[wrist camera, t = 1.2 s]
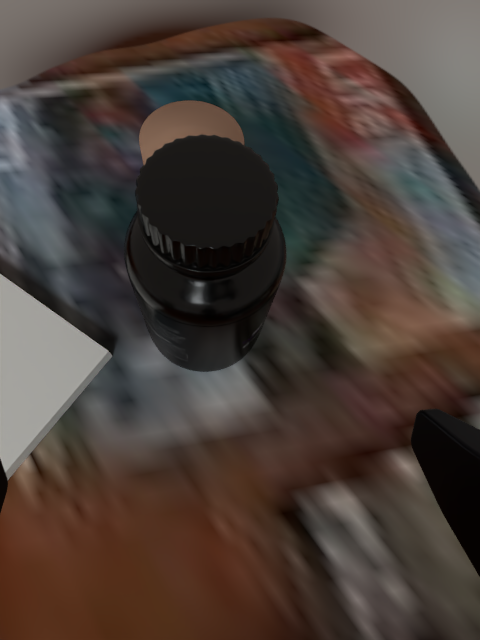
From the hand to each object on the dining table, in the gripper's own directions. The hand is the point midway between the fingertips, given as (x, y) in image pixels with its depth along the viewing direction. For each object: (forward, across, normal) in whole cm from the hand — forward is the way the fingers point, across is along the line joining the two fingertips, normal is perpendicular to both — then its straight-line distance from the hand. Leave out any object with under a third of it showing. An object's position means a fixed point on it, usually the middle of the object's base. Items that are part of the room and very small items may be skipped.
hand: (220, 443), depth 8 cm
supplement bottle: (+16, 0, +4) cm, 16 cm away
